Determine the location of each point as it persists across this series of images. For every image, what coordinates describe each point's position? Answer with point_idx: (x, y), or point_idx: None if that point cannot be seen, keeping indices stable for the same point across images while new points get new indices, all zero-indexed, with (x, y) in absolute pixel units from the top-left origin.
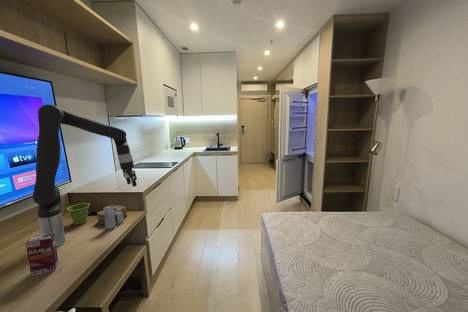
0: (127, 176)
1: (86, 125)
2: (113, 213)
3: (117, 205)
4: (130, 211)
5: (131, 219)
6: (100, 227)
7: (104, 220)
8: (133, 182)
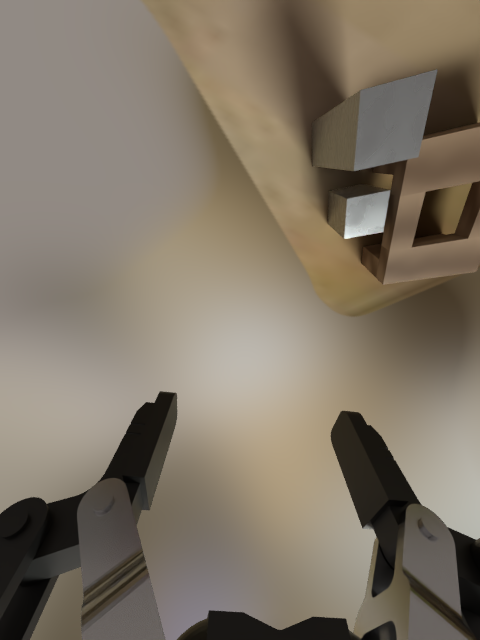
0: (387, 589)
1: None
2: (335, 159)
3: (462, 271)
4: (389, 299)
5: (313, 258)
6: None
7: None
8: (113, 457)
